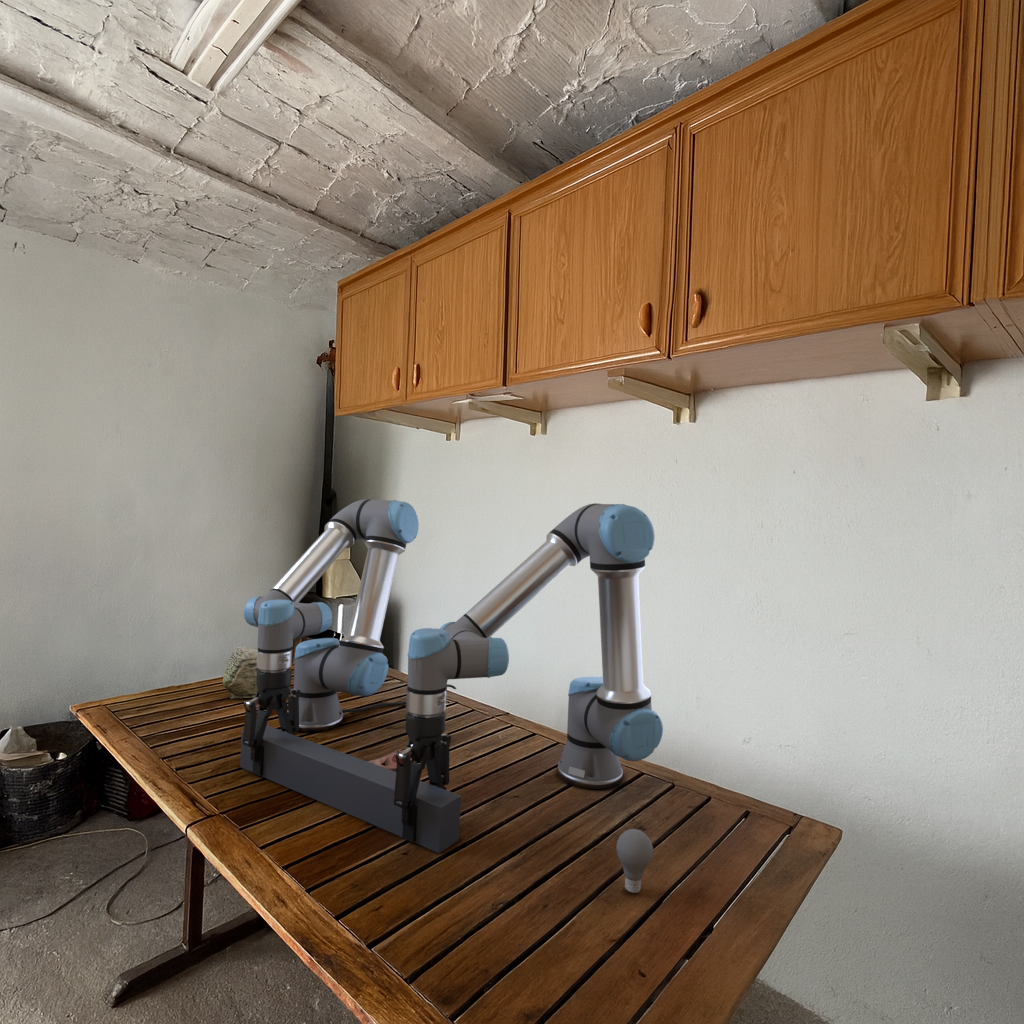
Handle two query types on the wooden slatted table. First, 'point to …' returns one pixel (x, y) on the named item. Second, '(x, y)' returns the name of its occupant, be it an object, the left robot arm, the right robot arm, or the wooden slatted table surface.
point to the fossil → (241, 673)
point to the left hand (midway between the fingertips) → (270, 768)
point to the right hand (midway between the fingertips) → (420, 831)
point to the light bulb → (634, 857)
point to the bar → (355, 787)
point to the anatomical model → (387, 761)
